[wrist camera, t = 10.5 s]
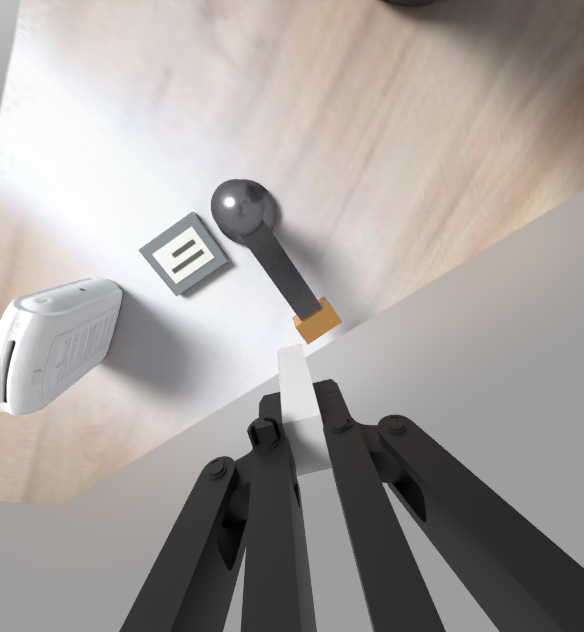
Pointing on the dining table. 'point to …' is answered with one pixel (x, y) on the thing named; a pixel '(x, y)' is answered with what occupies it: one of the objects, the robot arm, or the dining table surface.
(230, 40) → the dining table surface
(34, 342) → the photo printer
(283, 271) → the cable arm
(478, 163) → the dining table surface
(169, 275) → the label tile
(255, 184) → the round-base stand
